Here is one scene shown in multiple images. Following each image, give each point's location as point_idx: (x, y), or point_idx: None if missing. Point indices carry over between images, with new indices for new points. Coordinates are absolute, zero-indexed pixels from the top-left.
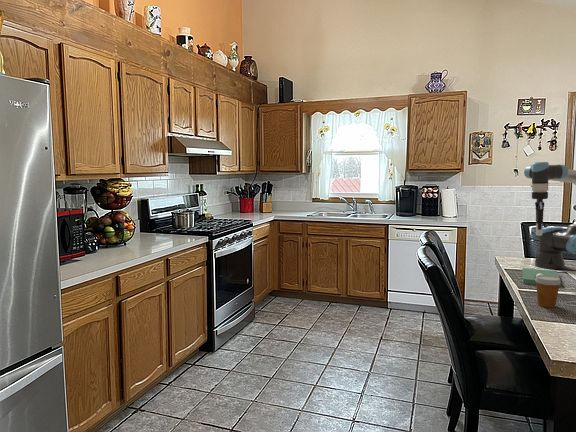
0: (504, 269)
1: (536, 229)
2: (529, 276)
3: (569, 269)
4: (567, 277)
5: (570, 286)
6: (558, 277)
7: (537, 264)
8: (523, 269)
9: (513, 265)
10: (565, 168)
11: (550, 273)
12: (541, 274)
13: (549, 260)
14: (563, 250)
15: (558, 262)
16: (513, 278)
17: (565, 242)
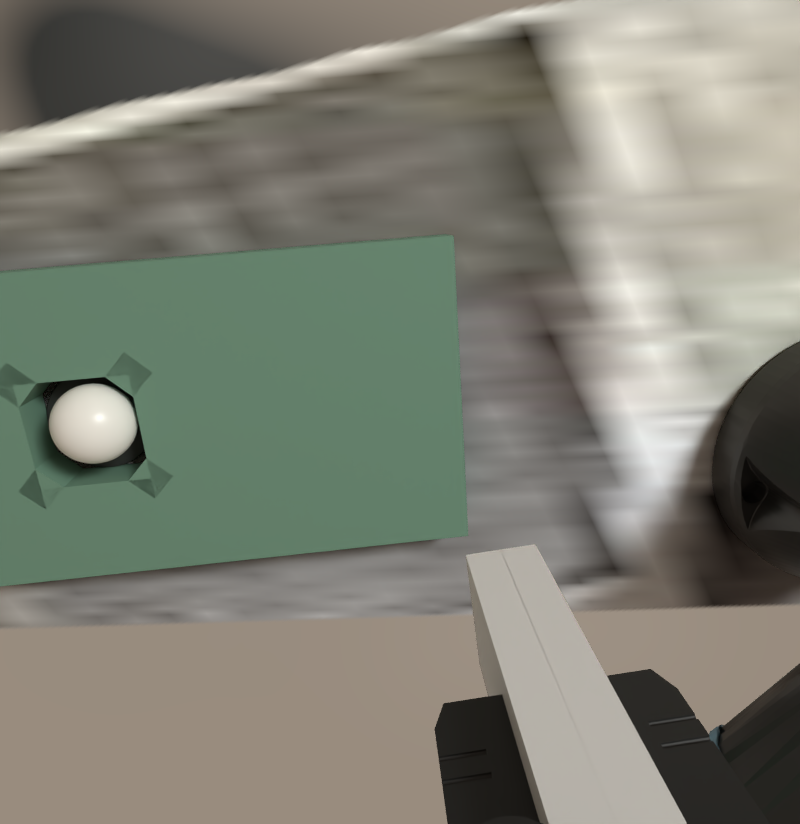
0: (516, 30)
1: (505, 651)
2: (49, 330)
3: (745, 593)
4: (418, 591)
5: (93, 619)
6: (173, 562)
7: (793, 358)
8: (376, 249)
9: (773, 116)
10: None
11: (313, 497)
12: (63, 445)
13: (776, 483)
14: (773, 685)
15: (771, 549)
16: (103, 166)
17: (762, 807)
